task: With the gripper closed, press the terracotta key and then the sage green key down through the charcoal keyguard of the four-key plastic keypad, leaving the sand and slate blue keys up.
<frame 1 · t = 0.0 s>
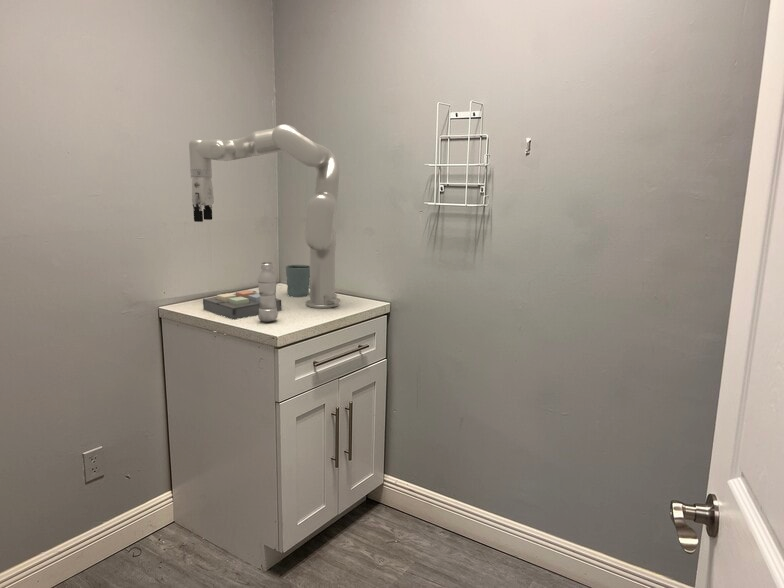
hand: (203, 220, 219), 31 cm above the cabinet, tool pointing down, fingers open, 9 cm apart
sage key: (238, 302, 206), point 4 cm above the cabinet, slide at 0.0 cm
terracotta key: (245, 295, 217), point 4 cm above the cabinet, slide at 0.0 cm
slate key: (257, 298, 212), point 4 cm above the cabinet, slide at 0.0 cm
keypad: (242, 310, 213), on the cabinet
plastic bottle: (268, 322, 197), on the cabinet
teal cup: (298, 295, 241), on the cabinet
sand key: (226, 298, 212), point 4 cm above the cabinet, slide at 0.0 cm
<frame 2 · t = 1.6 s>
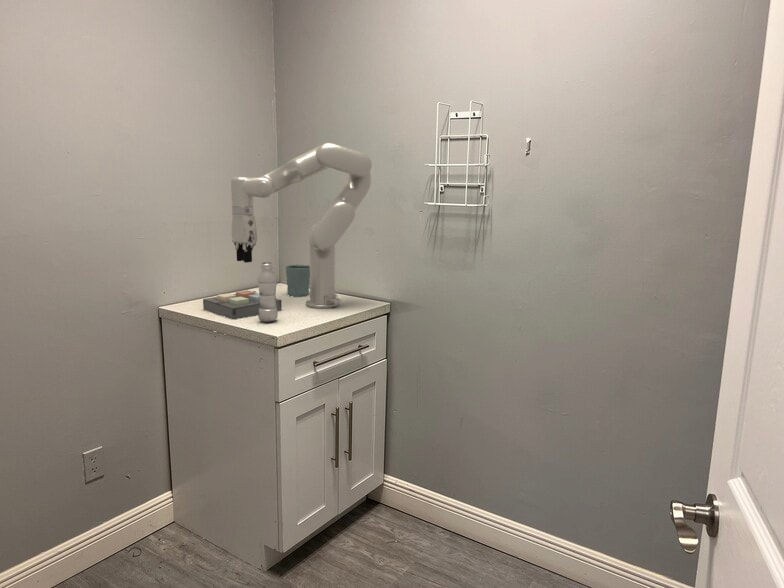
hand: (244, 261, 215), 17 cm above the cabinet, tool pointing down, fingers open, 3 cm apart
nothing on the cabinet moved.
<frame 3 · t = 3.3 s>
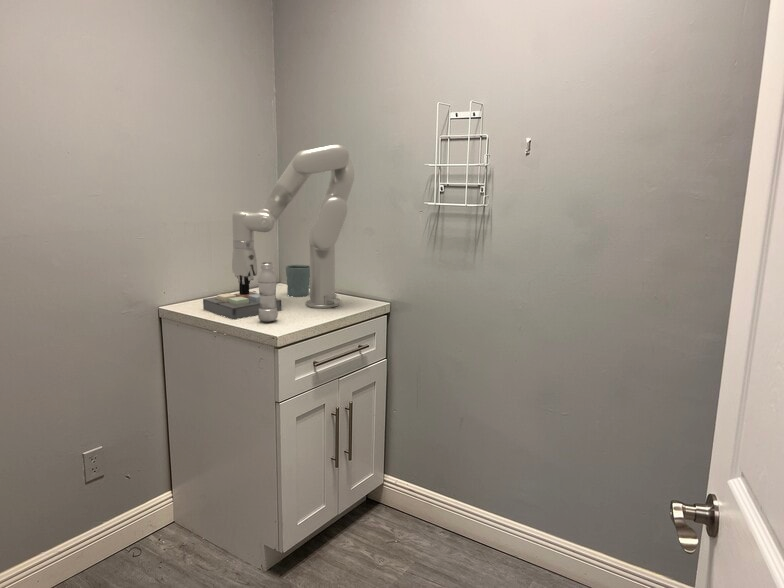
hand: (244, 294, 217), 5 cm above the cabinet, tool pointing down, fingers closed
terracotta key: (245, 297, 217), point 4 cm above the cabinet, slide at 0.7 cm, touching gripper
everything else where it was.
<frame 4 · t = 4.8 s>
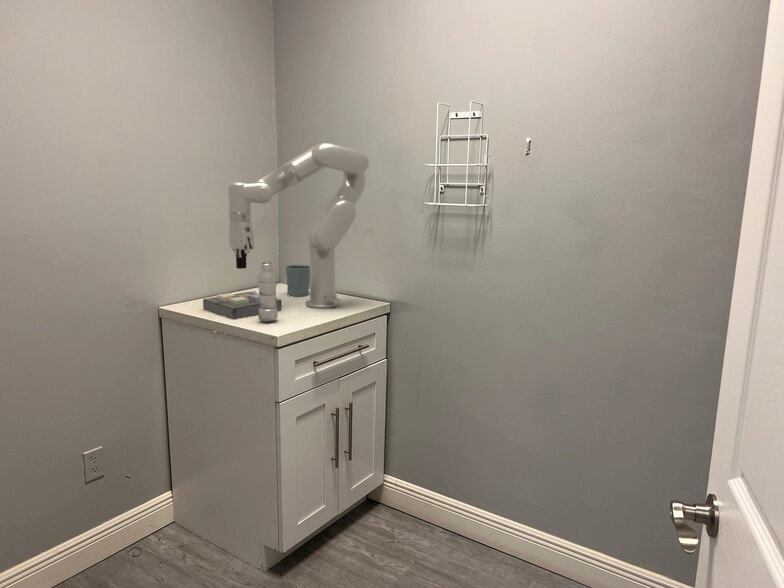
hand: (241, 268, 211), 15 cm above the cabinet, tool pointing down, fingers closed
terracotta key: (245, 298, 218), point 3 cm above the cabinet, slide at 1.2 cm
everything else where it was.
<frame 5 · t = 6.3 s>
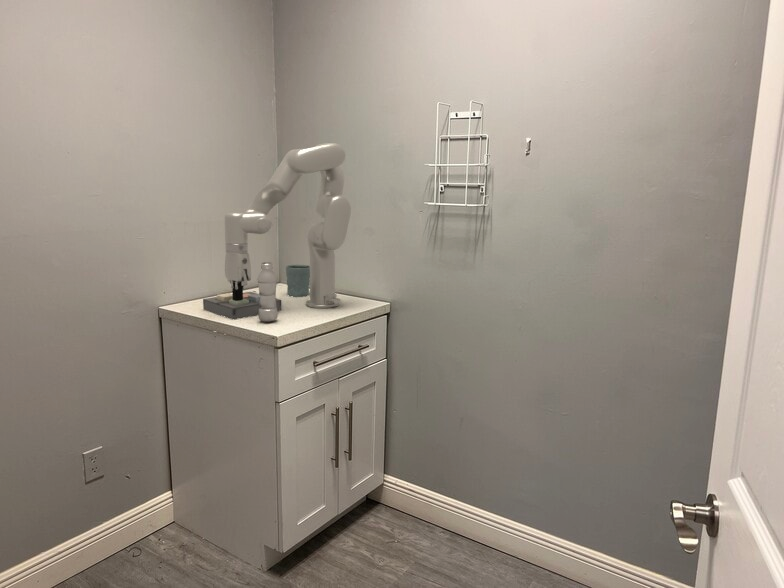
hand: (237, 299, 206), 5 cm above the cabinet, tool pointing down, fingers closed
sage key: (238, 303, 206), point 4 cm above the cabinet, slide at 0.5 cm, touching gripper
everything else where it was.
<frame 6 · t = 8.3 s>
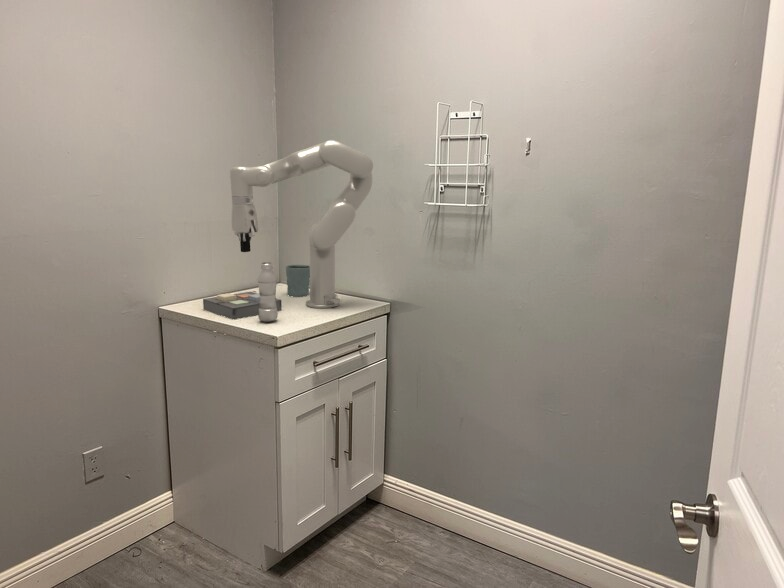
hand: (245, 251, 214), 21 cm above the cabinet, tool pointing down, fingers closed
sage key: (238, 305, 207), point 3 cm above the cabinet, slide at 1.2 cm
everything else where it was.
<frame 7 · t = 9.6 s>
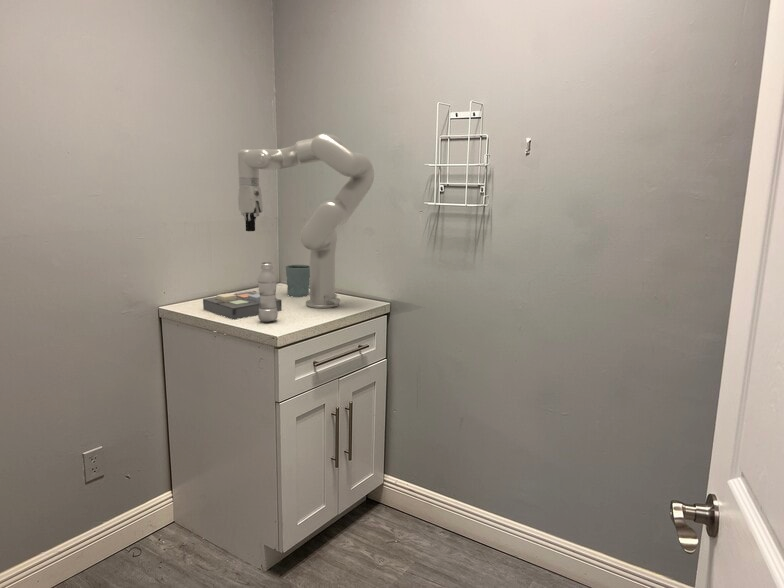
hand: (250, 230, 225), 27 cm above the cabinet, tool pointing down, fingers closed
nothing on the cabinet moved.
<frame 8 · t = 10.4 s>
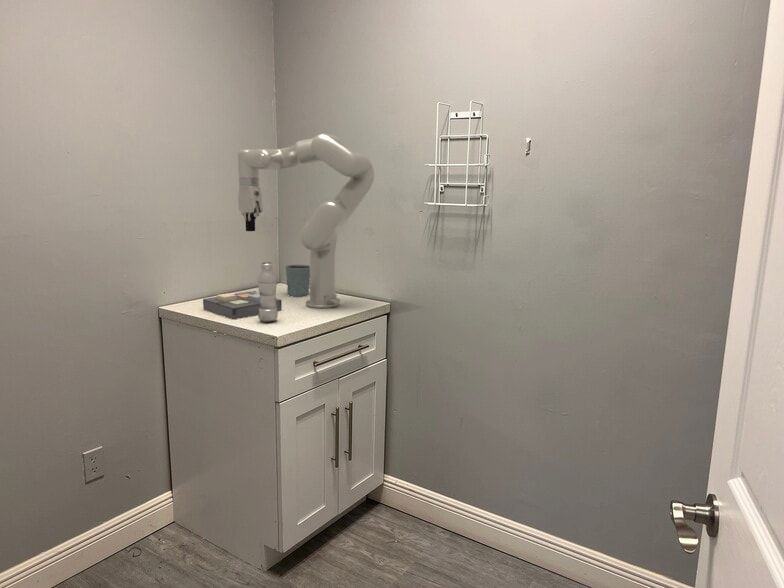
hand: (250, 230, 225), 27 cm above the cabinet, tool pointing down, fingers closed
nothing on the cabinet moved.
at the end: terracotta key slide at 1.2 cm; sage key slide at 1.2 cm; sand key slide at 0.0 cm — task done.
